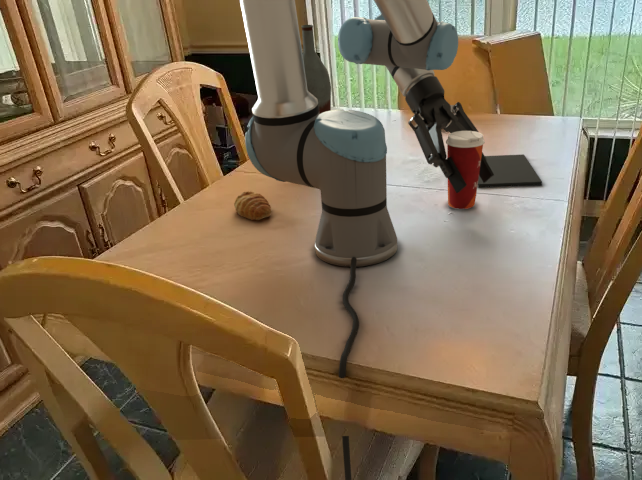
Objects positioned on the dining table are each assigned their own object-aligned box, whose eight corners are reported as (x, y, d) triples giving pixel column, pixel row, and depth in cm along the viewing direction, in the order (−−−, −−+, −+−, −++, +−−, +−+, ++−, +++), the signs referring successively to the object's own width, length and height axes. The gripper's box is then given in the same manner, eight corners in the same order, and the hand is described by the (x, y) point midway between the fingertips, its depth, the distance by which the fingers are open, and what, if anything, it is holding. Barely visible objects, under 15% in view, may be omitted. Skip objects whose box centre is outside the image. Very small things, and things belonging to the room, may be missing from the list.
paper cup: (486, 207, 128) (493, 136, 119) (454, 213, 126) (458, 142, 117) (467, 195, 134) (472, 127, 125) (436, 201, 132) (438, 132, 123)
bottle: (295, 161, 159) (281, 28, 141) (306, 150, 166) (294, 23, 148) (330, 162, 157) (320, 28, 139) (339, 151, 164) (331, 22, 146)
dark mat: (541, 185, 137) (542, 181, 137) (478, 187, 138) (478, 184, 137) (523, 157, 153) (523, 154, 153) (467, 159, 154) (467, 156, 153)
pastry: (280, 216, 129) (278, 198, 127) (251, 225, 126) (248, 207, 124) (259, 204, 136) (257, 187, 133) (231, 212, 133) (228, 194, 130)
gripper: (443, 90, 133) (496, 181, 133) (373, 108, 123) (430, 207, 122) (464, 66, 127) (519, 161, 127) (392, 82, 116) (451, 186, 116)
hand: (475, 183), depth 124 cm, fingers closed on paper cup, 8 cm apart
